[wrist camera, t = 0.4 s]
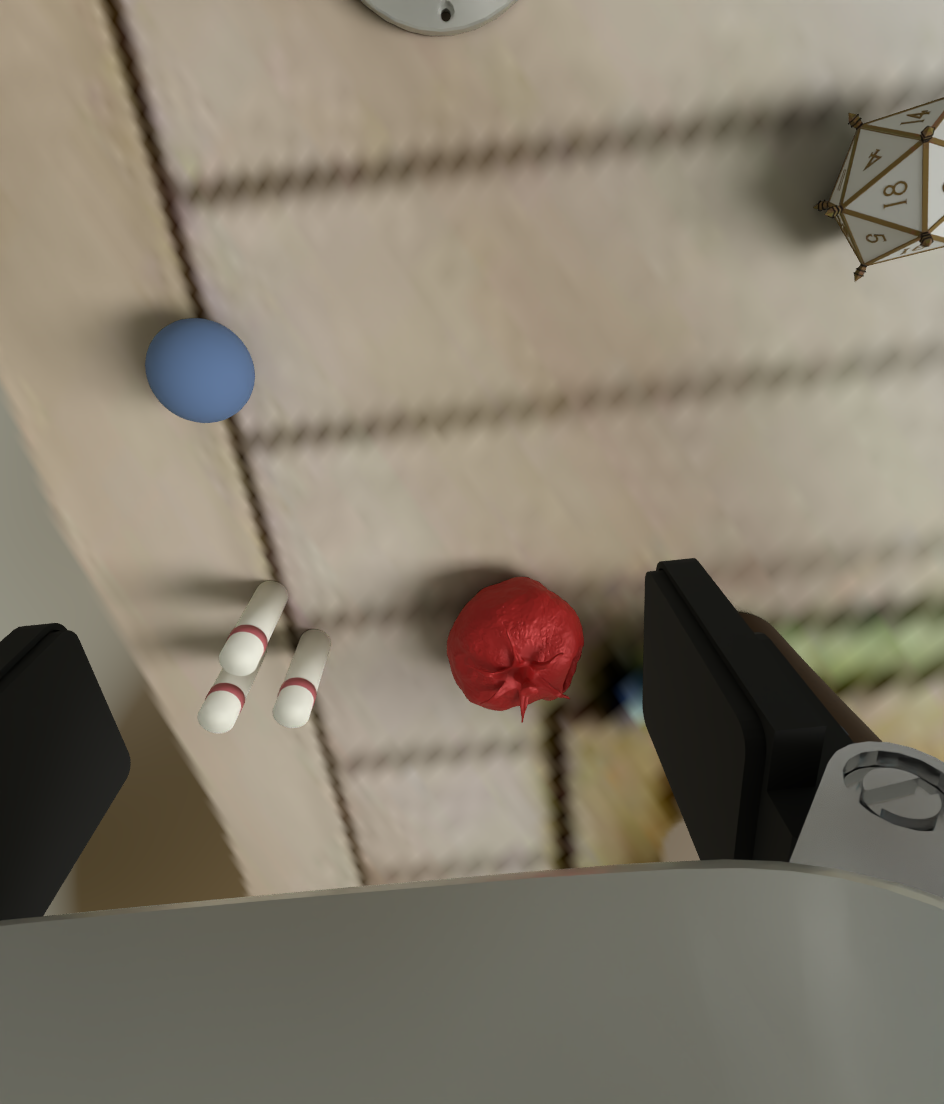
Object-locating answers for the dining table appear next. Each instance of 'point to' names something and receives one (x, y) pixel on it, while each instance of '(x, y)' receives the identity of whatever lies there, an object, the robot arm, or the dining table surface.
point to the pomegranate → (514, 645)
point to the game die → (892, 186)
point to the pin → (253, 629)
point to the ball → (200, 370)
